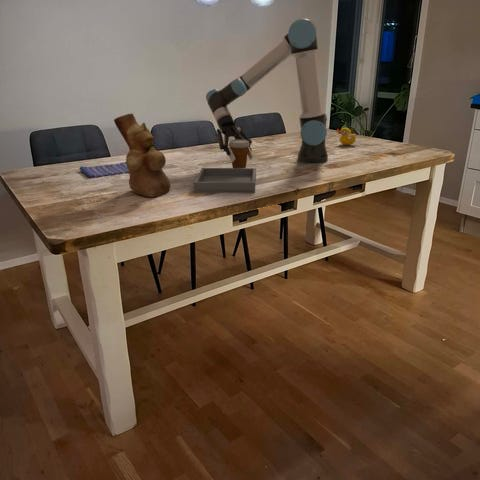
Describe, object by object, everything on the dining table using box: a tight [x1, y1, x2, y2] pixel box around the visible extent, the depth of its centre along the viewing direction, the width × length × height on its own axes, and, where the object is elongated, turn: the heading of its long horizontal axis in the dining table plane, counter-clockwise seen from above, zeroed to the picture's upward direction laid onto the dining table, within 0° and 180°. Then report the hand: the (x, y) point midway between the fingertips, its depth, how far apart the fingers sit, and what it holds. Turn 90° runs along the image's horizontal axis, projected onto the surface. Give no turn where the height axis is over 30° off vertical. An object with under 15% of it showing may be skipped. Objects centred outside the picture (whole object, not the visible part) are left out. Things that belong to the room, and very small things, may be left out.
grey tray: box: [193, 167, 257, 194], centre depth 191 cm, size 24×24×4 cm
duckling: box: [336, 127, 357, 146], centre depth 266 cm, size 11×5×10 cm, turn 62°
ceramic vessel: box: [113, 112, 172, 198], centre depth 177 cm, size 16×22×30 cm
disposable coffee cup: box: [228, 139, 249, 168], centre depth 209 cm, size 10×10×12 cm
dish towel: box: [78, 161, 129, 179], centre depth 213 cm, size 17×24×3 cm
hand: (242, 159), depth 208 cm, fingers closed on disposable coffee cup, 9 cm apart
